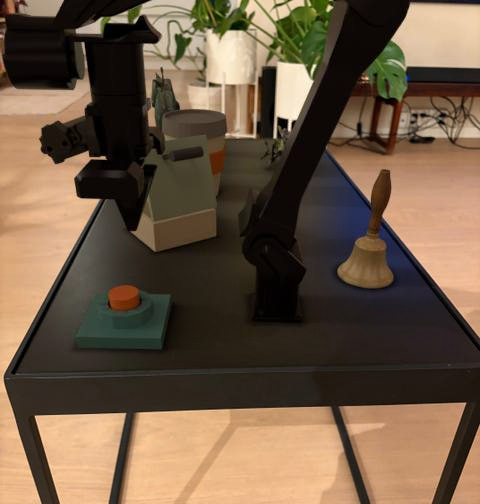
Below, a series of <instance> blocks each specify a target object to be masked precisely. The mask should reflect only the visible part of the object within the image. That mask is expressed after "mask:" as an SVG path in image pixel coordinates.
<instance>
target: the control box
mask: <svg viewBox="0 0 480 504" xmlns="http://www.w3.org/2000/svg"><path fill="white" fill-rule="evenodd" d="M138 291H139V298H140V305H139V306H138V307H137V308H135V309H132V310H128V311H116V310H113V309H112V308H111V307H110V300H109V292H96V293H95V294H94V297H93V299H92V301H91V303H90V305H89V307H88V310H87V311H86V314H85V315H84V318H83V320H82V323H81V324H80V325H79V326H80V327H79V329H78V331H77V334H76V335H75V341H76V346H77V348H78V349H116V350H117V349H119V350H120V349H123V350H124V349H125V350H131V349H132V350H163V346H164V341H165V337H166V332H167V328H168V323H169V320H170V315H171V310H172V305H173V304H172V303H173V301H172V294H169V293H167V294H165V293H164V294H162V293H161V294H160V293H149V292H147V291H144V290H142V289H138Z"/></svg>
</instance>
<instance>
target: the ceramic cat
mask: <svg viewBox="0 0 480 504" xmlns="http://www.w3.org/2000/svg"><path fill="white" fill-rule="evenodd" d="M159 71H160V73H161V76H160V75H159V74H158V73H157V72H154V74H155V79H152V82H151V96H150V98H151V108H154V123H155V127H158V128H159V129H160V130H161V131H162V117H163V114H165V113H167V112H170V111H174V110H181V105H180V102H179V101H177V98H176V94H175V91H174V87H173V84H172V80H171V78H164V67H163V66H160V68H159Z"/></svg>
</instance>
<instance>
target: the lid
mask: <svg viewBox="0 0 480 504" xmlns="http://www.w3.org/2000/svg"><path fill="white" fill-rule="evenodd" d="M144 159H145V164H155V165H157V166H158V167H157V170H156V173H155V176H154V179H153V182H152V186H151V189H150V192H149V195H148V198H147V199H148V204H149V209H150V214H151V219H152V222H156V221H160V220H164V219H169V218H173V217H177V216H182V215H186V214H190V213H194V212H199V211H203V210H207V209H212V208H214V209H216V208H218V203H217V196H216V195H215V189H214V182H213V176H212V170H211V163H210V157H209V151H208V144H207V138H206V135H200V136H193V137H186V138H180V139H173V140H166V141H165V150H164V152H163V154H162V155H157V152H156V149H151V151H150V152H149V154H148V156H147V157H146V158H144Z"/></svg>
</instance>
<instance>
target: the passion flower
mask: <svg viewBox="0 0 480 504" xmlns="http://www.w3.org/2000/svg"><path fill="white" fill-rule="evenodd" d="M277 130H278V132H279V134H280V137H281V140H279V139H278V138H274V142H273V144H272V145H271V148H269V146H268V140H267V139H263V144H264V146H265V148H266V149H267V150H266V151H265V152H264V153H262V154H263V155H261V157H260V160H263V159H265V158H266V157H268V156H269V161H268V165H267V169H270V166H271V165H272V164H273V163H274V162H276V160H277V158H279V157H281V155H282V153H283V150H284V148H285V146H286V143H287V141H288V139H289V136H290V134H291V132H292V131H291V130H289V129H288V128H285V127H284V128H283V129H282V127H281V125H278V126H277Z"/></svg>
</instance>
